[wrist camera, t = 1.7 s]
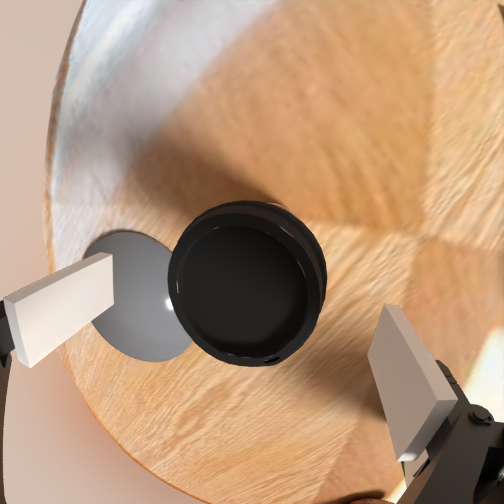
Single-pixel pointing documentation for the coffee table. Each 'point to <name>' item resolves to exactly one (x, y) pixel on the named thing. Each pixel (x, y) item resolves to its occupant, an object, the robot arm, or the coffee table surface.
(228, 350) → the coffee cup
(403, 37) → the coffee table surface
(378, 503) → the reddish brown rock
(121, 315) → the disc
